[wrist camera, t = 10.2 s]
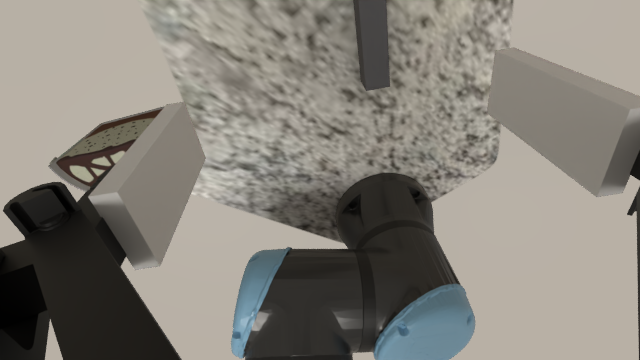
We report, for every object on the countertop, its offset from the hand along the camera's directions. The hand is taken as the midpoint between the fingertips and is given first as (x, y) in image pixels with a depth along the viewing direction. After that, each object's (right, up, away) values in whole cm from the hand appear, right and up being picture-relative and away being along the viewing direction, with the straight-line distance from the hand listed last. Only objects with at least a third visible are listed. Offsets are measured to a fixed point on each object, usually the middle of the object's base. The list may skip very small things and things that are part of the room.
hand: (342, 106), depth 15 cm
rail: (+4, +16, +23) cm, 29 cm away
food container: (-24, +3, +30) cm, 38 cm away
